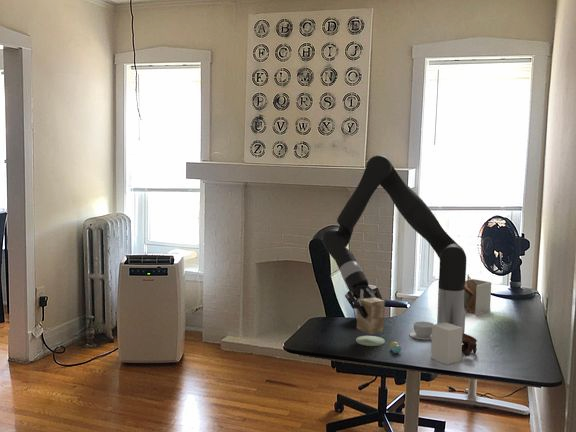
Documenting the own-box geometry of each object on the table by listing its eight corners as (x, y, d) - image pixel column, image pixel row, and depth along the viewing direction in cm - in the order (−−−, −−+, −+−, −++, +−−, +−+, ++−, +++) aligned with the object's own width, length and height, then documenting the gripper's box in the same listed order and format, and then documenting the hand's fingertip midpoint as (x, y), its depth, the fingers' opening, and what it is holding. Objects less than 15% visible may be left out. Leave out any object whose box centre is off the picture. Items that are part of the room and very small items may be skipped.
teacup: (404, 337, 226) (404, 324, 226) (417, 331, 234) (418, 318, 234) (429, 342, 220) (430, 329, 220) (442, 336, 228) (442, 323, 227)
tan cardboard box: (370, 326, 224) (371, 296, 223) (383, 331, 218) (384, 300, 217) (356, 328, 221) (357, 298, 219) (369, 334, 215) (371, 302, 213)
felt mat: (372, 335, 227) (372, 334, 227) (390, 343, 218) (390, 341, 218) (350, 340, 221) (350, 338, 221) (368, 347, 213) (368, 346, 213)
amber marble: (395, 348, 213) (395, 339, 212) (401, 350, 210) (401, 342, 210) (388, 349, 211) (388, 341, 211) (394, 352, 208) (394, 343, 208)
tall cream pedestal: (444, 354, 207) (445, 322, 205) (461, 361, 201) (462, 327, 199) (431, 357, 203) (432, 324, 202) (447, 364, 197) (449, 330, 196)
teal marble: (396, 351, 209) (397, 342, 209) (402, 354, 207) (403, 345, 206) (389, 353, 208) (390, 344, 207) (396, 355, 205) (396, 346, 205)
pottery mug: (439, 352, 210) (447, 330, 212) (463, 364, 212) (471, 341, 214) (458, 355, 199) (466, 330, 201) (483, 366, 200) (491, 342, 202)
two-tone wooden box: (457, 311, 264) (459, 272, 263) (471, 307, 272) (473, 269, 270) (475, 315, 258) (477, 276, 256) (489, 311, 265) (491, 272, 263)
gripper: (342, 272, 220) (362, 313, 211) (373, 268, 227) (394, 307, 219) (333, 284, 225) (352, 324, 216) (364, 280, 232) (384, 318, 224)
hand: (373, 315), depth 217 cm, fingers closed on tan cardboard box, 6 cm apart
